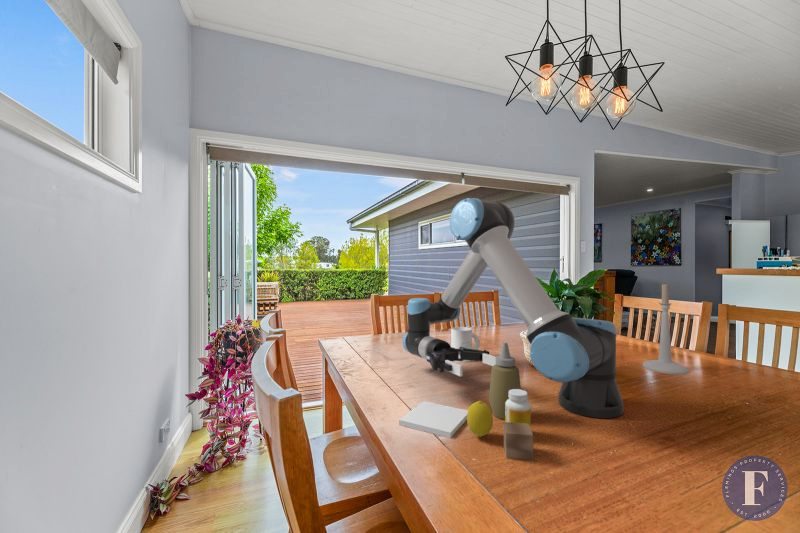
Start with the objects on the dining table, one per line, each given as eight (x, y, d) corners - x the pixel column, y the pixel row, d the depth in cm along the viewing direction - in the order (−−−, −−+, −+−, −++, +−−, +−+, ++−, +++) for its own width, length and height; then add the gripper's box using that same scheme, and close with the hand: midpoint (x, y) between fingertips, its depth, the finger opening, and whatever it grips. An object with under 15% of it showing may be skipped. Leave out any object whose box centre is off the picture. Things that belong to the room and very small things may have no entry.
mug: (485, 360, 141) (485, 329, 140) (457, 363, 137) (457, 331, 136) (474, 355, 148) (474, 325, 148) (447, 358, 144) (447, 327, 144)
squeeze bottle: (486, 419, 89) (485, 345, 89) (491, 406, 97) (490, 338, 96) (521, 424, 86) (521, 348, 86) (523, 411, 94) (523, 341, 93)
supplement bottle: (500, 431, 83) (500, 389, 82) (519, 427, 85) (519, 386, 84) (515, 442, 78) (515, 397, 77) (536, 438, 79) (536, 394, 79)
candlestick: (636, 362, 135) (636, 281, 135) (674, 364, 133) (674, 281, 133) (655, 373, 123) (655, 284, 122) (697, 375, 121) (697, 284, 120)
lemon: (493, 444, 77) (493, 406, 77) (466, 442, 78) (466, 405, 78) (492, 432, 82) (492, 397, 82) (467, 430, 84) (467, 395, 83)
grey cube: (528, 447, 76) (528, 423, 76) (533, 460, 71) (532, 435, 71) (503, 445, 77) (503, 422, 77) (506, 458, 72) (506, 433, 72)
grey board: (470, 415, 91) (470, 410, 91) (450, 437, 80) (450, 432, 80) (423, 405, 98) (423, 401, 98) (398, 424, 86) (398, 419, 86)
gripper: (465, 356, 123) (514, 373, 105) (401, 368, 111) (443, 389, 92) (465, 334, 123) (514, 347, 105) (401, 343, 111) (443, 359, 92)
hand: (481, 367), depth 98 cm, fingers open, 13 cm apart
